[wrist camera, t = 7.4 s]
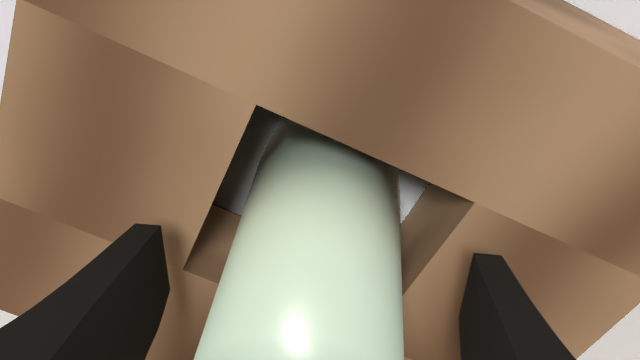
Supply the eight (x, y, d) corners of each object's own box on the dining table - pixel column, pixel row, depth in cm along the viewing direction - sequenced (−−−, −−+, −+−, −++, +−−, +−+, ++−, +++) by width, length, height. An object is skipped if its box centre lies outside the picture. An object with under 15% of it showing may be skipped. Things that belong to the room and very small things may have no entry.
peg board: (737, 92, 15) (807, 154, 12) (442, 394, 22) (448, 471, 20) (121, -233, 12) (52, -236, 10) (21, 233, 20) (-30, 298, 17)
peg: (406, 115, 16) (418, 350, 9) (391, 230, 18) (393, 485, 12) (259, 104, 16) (172, 326, 10) (262, 219, 19) (194, 463, 12)
